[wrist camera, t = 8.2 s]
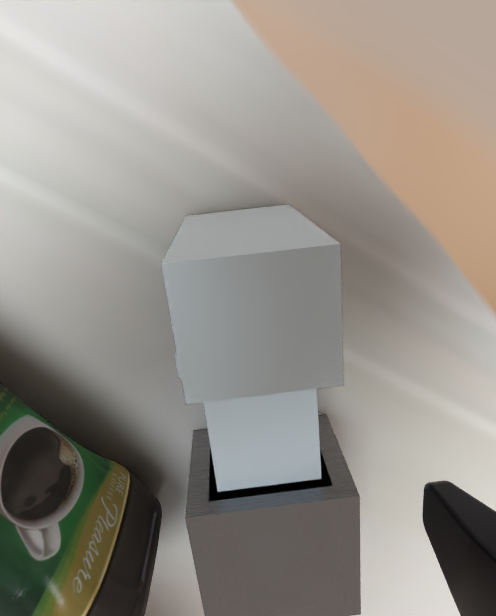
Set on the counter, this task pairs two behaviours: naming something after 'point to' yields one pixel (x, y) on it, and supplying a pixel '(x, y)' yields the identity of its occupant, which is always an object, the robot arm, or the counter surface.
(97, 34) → the counter surface
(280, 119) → the counter surface
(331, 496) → the housing
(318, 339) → the end cover
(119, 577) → the coffee jar
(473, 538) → the robot arm
